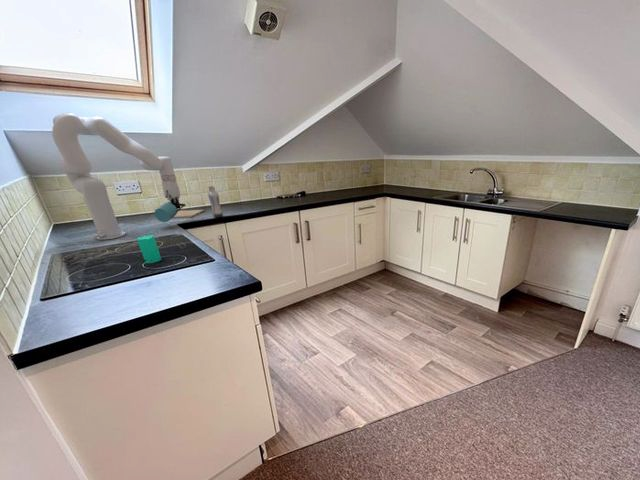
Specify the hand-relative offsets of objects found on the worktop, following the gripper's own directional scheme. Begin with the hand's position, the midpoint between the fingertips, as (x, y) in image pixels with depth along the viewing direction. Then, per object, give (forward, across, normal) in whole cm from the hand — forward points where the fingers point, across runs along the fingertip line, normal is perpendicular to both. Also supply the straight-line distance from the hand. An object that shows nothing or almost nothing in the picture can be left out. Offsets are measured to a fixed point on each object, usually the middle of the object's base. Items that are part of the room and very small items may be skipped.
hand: (176, 208), depth 188 cm
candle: (+9, +71, +25) cm, 76 cm away
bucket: (+3, +7, 0) cm, 8 cm away
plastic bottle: (+9, -10, +20) cm, 24 cm away
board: (+9, -22, -8) cm, 25 cm away
